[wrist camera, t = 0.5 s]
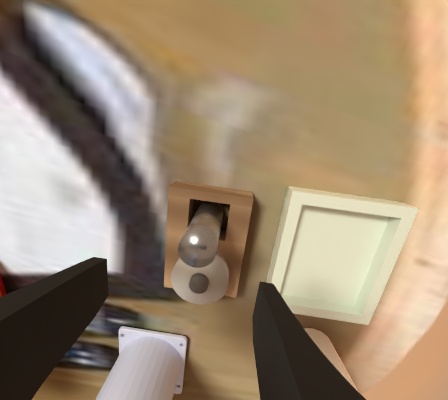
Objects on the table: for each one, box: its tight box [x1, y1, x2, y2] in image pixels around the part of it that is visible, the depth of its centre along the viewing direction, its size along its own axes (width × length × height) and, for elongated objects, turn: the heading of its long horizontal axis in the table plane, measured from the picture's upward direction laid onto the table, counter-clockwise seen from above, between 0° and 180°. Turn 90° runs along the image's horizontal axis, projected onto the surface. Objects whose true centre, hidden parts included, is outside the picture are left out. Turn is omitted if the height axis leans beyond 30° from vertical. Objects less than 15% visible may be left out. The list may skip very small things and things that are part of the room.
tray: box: [266, 186, 419, 325], centre depth 19 cm, size 12×10×2 cm
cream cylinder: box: [304, 328, 359, 392], centre depth 20 cm, size 7×7×7 cm
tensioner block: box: [164, 181, 254, 305], centre depth 18 cm, size 10×7×4 cm
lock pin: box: [178, 201, 224, 268], centre depth 16 cm, size 2×2×7 cm
